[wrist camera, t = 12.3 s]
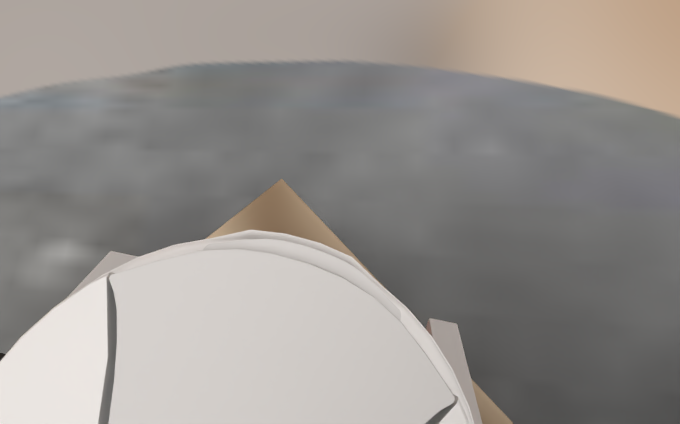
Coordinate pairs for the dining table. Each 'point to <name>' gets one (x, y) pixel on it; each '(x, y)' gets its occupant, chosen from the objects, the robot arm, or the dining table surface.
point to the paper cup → (231, 344)
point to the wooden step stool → (299, 220)
